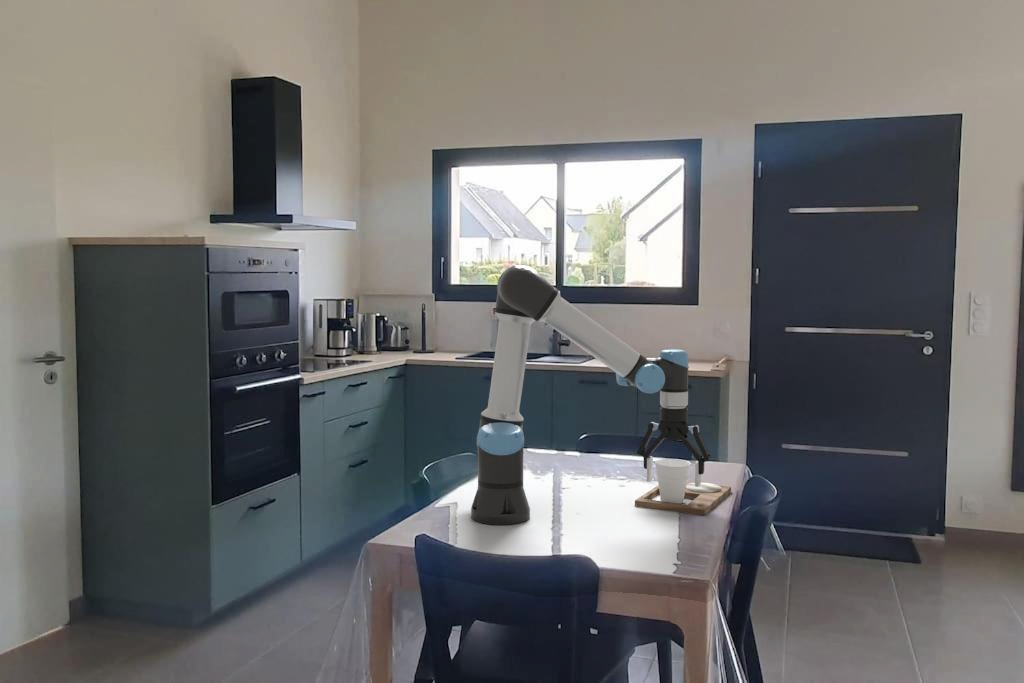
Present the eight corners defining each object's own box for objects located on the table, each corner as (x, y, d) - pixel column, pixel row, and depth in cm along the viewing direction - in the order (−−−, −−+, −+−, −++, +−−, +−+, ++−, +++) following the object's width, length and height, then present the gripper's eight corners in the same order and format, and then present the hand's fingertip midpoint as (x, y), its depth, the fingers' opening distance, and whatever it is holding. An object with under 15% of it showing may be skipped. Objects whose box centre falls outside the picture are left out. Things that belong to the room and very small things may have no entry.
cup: (690, 507, 235) (691, 467, 234) (652, 505, 237) (653, 465, 236) (690, 498, 244) (691, 459, 244) (654, 496, 246) (655, 457, 246)
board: (704, 515, 227) (704, 507, 227) (634, 505, 236) (634, 498, 236) (731, 491, 252) (731, 485, 252) (667, 484, 261) (667, 477, 261)
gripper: (723, 407, 236) (722, 485, 238) (635, 401, 248) (635, 475, 249) (715, 411, 229) (714, 491, 231) (625, 405, 241) (625, 481, 243)
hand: (673, 483), depth 240 cm, fingers open, 13 cm apart
